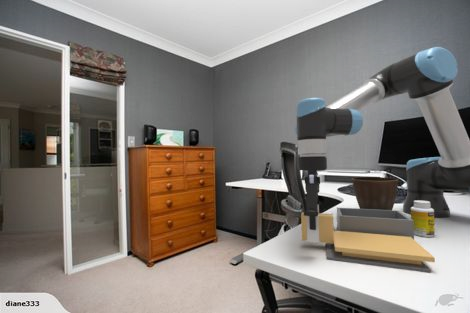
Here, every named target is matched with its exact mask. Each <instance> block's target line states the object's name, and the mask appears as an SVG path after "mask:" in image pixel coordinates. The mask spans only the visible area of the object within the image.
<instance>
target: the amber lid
mask: <svg viewBox="0 0 470 313" xmlns="http://www.w3.org/2000/svg"><path fill="white" fill-rule="evenodd" d="M304 212H305V211H301V215H300V220H301V224H300V225H301V241H303V242H304V241H305V242H307V216H304ZM318 218H319V243H323V244H324V243H325V244H326V243H332V244H334V247H335V251H338V252H342V255H343V256H351V257H359V258H368V259H376V260H385V261H393V262H402V263H410V264H419V265H421V261H422V262H427V263H435V262H436V259H435V257H434V256H433V254H431V253H430V252H429V251H428V250H427V249H425V248H424V247H423V246H422V245H421V244H420V243H418V241H416V240H415V238H414V239H413V238H411V237H405V236H393V235H381V234H369V233H357V232H345V231H338V230H334V215H333V213H327V212H326V213H325V212H324V213H323V212H319V213H318Z"/></svg>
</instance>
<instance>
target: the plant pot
mask: <svg viewBox="0 0 470 313" xmlns="http://www.w3.org/2000/svg"><path fill="white" fill-rule="evenodd" d="M351 181H352V185H353V186H352V187H353V191H354V195H355V198H356V202H357V206H358V207H359V208H358V209H376V210H393V208H394V206H395V203H396V198H397V193H398V186H399V179H398V178H394V177H379V176H378V177H377V176H364V177H363V176H362V177H360V176H358V177H352V178H351Z"/></svg>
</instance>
